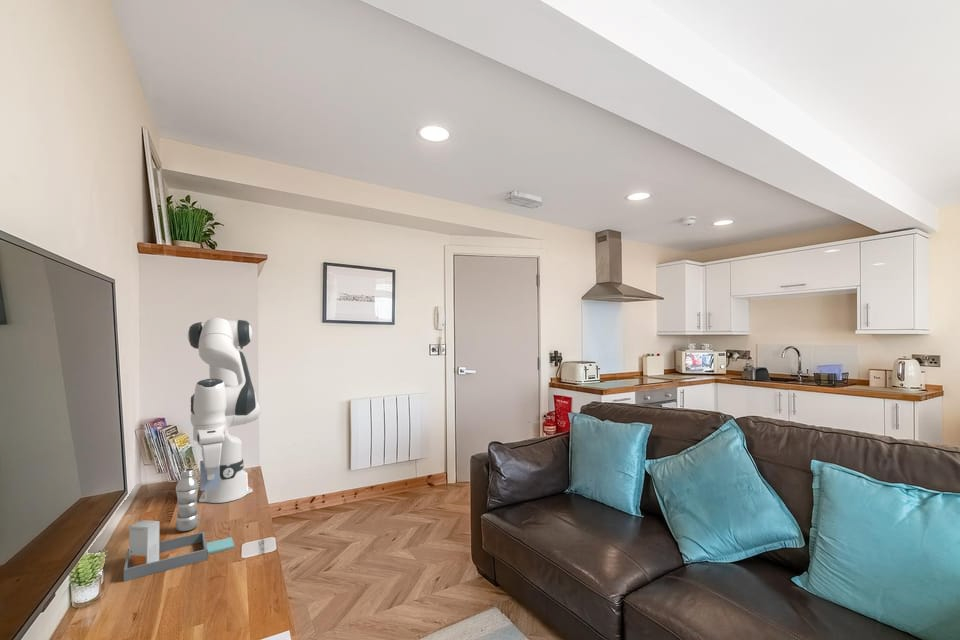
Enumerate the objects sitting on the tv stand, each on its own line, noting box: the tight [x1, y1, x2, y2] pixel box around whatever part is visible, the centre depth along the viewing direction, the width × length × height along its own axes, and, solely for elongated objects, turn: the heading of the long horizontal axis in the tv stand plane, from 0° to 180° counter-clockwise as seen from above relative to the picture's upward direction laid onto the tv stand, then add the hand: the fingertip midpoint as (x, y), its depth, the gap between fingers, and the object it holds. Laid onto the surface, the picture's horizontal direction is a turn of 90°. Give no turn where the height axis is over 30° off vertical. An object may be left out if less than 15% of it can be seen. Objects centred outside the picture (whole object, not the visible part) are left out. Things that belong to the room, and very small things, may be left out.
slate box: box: [199, 460, 220, 492], centre depth 137 cm, size 4×5×8 cm
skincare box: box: [128, 519, 161, 568], centre depth 127 cm, size 6×4×12 cm
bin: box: [123, 531, 208, 582], centre depth 131 cm, size 14×19×3 cm
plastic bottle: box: [175, 468, 200, 532], centre depth 150 cm, size 6×7×20 cm
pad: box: [206, 536, 235, 555], centre depth 138 cm, size 7×7×1 cm
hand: (210, 477), depth 137 cm, fingers closed on slate box, 4 cm apart
